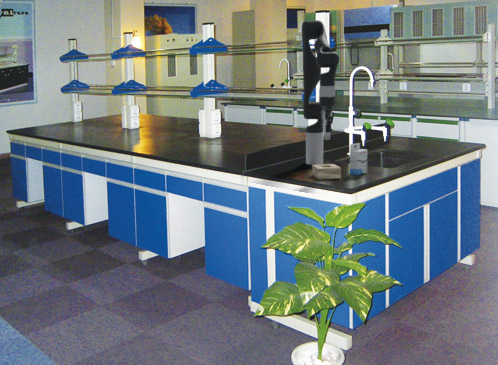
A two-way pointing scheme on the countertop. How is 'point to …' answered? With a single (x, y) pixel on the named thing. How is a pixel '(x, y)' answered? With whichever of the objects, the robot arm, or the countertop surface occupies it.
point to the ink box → (358, 159)
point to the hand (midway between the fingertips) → (326, 131)
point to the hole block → (326, 171)
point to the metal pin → (325, 135)
